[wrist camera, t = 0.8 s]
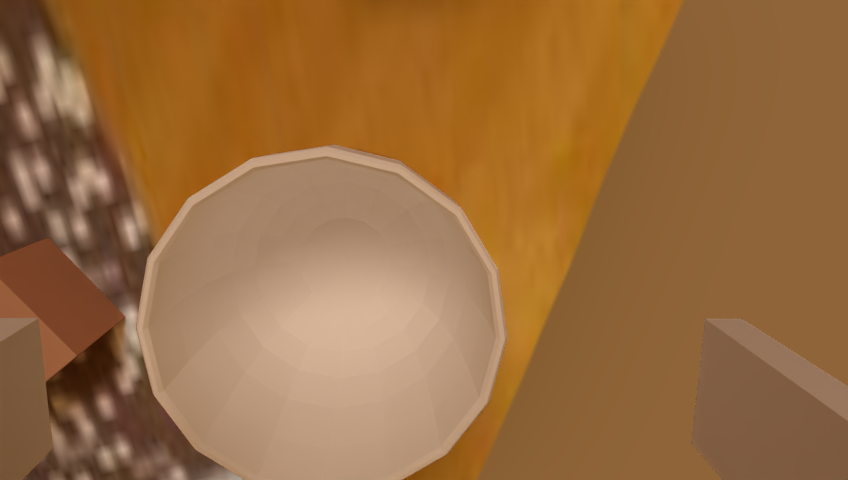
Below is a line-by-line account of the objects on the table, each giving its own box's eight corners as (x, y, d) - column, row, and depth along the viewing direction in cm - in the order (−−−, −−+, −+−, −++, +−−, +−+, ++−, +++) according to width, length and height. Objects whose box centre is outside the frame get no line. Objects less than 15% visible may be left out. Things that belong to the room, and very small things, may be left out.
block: (-28, 303, 38) (-106, 340, 32) (49, 237, 37) (-16, 263, 31) (50, 378, 39) (-12, 428, 33) (125, 316, 38) (76, 355, 32)
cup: (493, 179, 37) (573, 244, 21) (405, 358, 39) (413, 549, 23) (299, 88, 36) (217, 79, 19) (218, 279, 38) (80, 422, 21)
